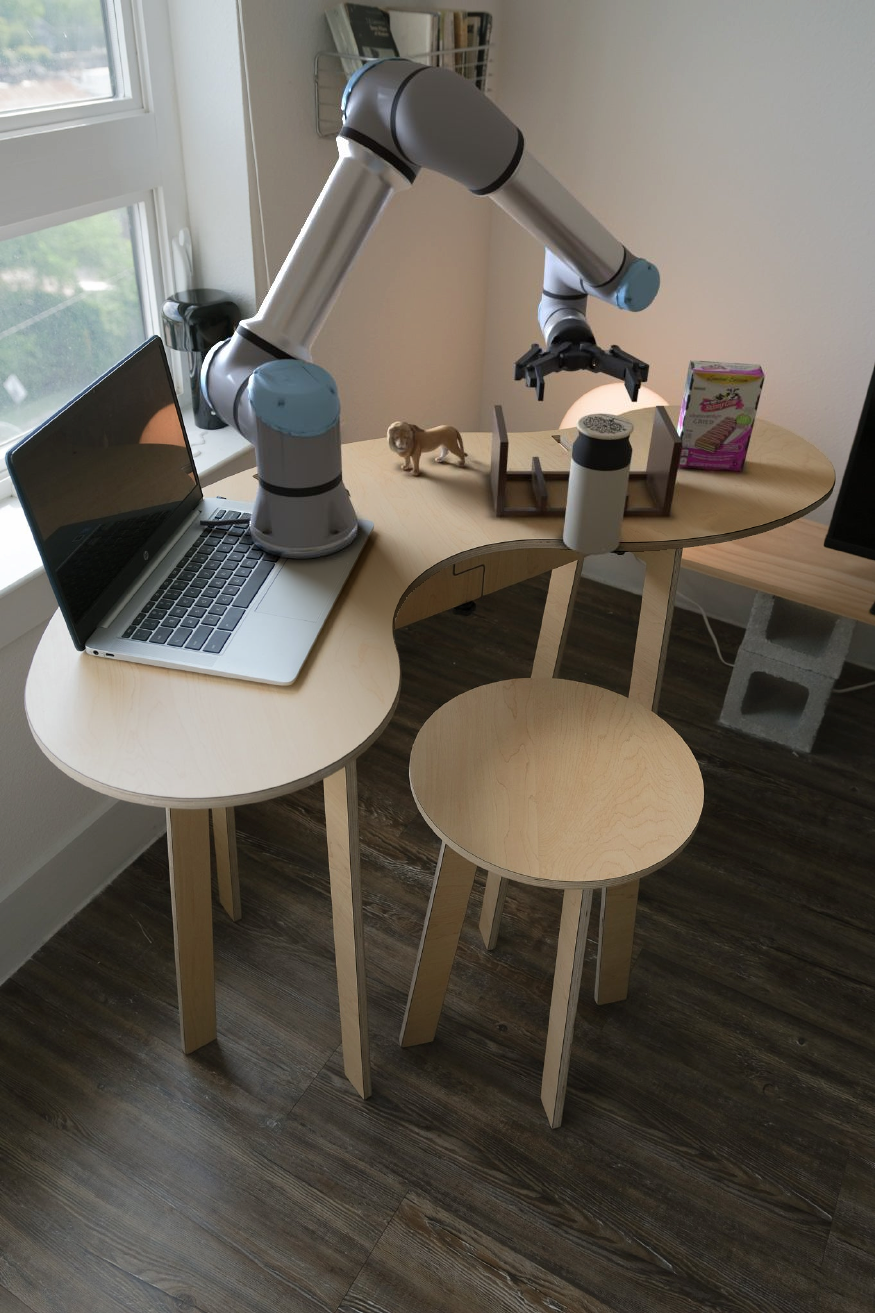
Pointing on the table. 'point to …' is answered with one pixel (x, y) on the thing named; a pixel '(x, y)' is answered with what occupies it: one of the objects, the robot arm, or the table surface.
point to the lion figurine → (424, 443)
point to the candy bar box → (718, 414)
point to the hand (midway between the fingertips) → (588, 392)
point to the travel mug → (598, 484)
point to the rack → (657, 472)
